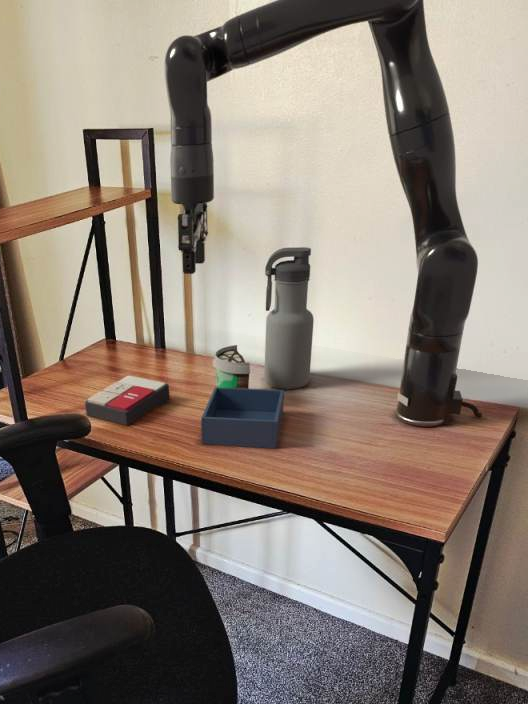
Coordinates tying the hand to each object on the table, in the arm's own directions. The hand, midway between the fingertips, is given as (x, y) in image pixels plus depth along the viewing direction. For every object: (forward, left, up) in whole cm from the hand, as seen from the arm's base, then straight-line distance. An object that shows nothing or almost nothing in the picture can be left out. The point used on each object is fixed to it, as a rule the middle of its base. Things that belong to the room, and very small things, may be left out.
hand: (194, 268), depth 132 cm
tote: (-11, +10, -28) cm, 31 cm away
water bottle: (-17, -16, -28) cm, 36 cm away
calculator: (+14, +2, -28) cm, 31 cm away
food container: (-6, -4, -28) cm, 29 cm away
